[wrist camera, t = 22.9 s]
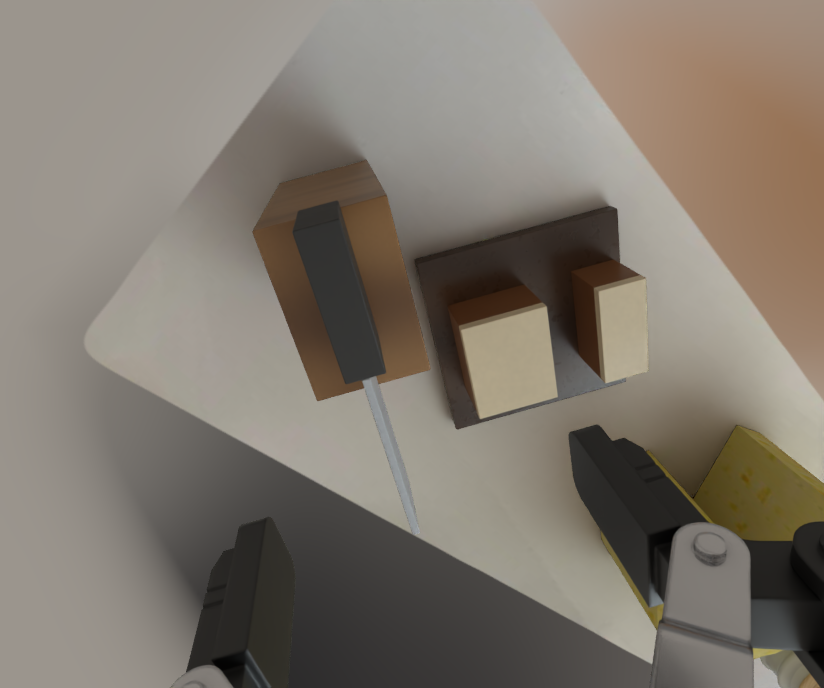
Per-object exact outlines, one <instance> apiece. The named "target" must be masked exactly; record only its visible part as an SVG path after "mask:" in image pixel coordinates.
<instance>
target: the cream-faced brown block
mask: <svg viewBox="0 0 824 688" xmlns="http://www.w3.org/2000/svg"><path fill="white" fill-rule="evenodd" d="M447 307H448V311H449V316H450V320H451V325H452V329H453V334H454V338H455V343H456V347H457V352H458V356H459V361H460V365H461V370H462V374H463V379H464V383H465V388H466V390H467V392H468V395H469V397H470V399H471V401H472V403H473V405H474V408H475V410H476V412H477V414H478V416H479V418H480V419H482V418H486V417H489V416H493V415H497V414H500V413H504V412H507V411H511V410H514V409H518V408H521V407H525V406H528V405H532V404H535V403H539V402H542V401H546V400H550V399H553V398H557V397H558V394H557V386H556V378H555V369H554V361H553V353H552V345H551V337H550V329H549V321H548V313H547V306H546V305H545V304H544V303H543V302H542V301H541V300H540V299H539V298H538V297H537V296H536V295H535V294H534V293H533V292H532V291H531V290H529V289H528V288H527V287H526V286H525V285H520V286H517V287H513V288H509V289H506V290H502V291H499V292H495V293H491V294H488V295H484V296H481V297H477V298H473V299H470V300H466V301H463V302H459V303H455V304H452V305H448V306H447Z"/></svg>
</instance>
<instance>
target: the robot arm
mask: <svg viewBox="0 0 824 688" xmlns="http://www.w3.org/2000/svg"><path fill="white" fill-rule="evenodd" d="M569 445H570V454H571V462H572V471H573V478H574V482H575V485H576V488H577V491H578V493H579V495H580V497H581V499H582V501H583V502H584V504H585V506H586V507H587V509H588V510H589V512H590V514H591V515H592V517H593V518H594V520H595V522H596V523H597V525H598V526H599V528H600V530H601V531H602V533H603V535H604V536H605V538H606V539H607V541H608V543H609V544H610V546H611V547H612V549H613V551H614V552H615V554H616V555H617V557H618V559H619V560H620V562H621V563H622V565H623V567H624V568H625V570H626V571H627V573H628V575H629V576H630V578H631V580H632V581H633V583H634V584H635V586H636V588H637V589H638V591H639V592H640V594H641V596H642V597H643V599H644V600H645V602H646V604H647V605H648V607H649V608H651V607H654V606H657V605H661V604H664V606H663V614H662V619H661V620H659V623H658V629H657V635H656V642H655V649H654V656H653V664H652V672H651V678H650V686H649V688H754V659H753V648H758V649H777V650H792V651H793V652H794V653H795V654H796V656H797V657H798V658H799V660H800V661H801V662H802V664H803V665H804V666H805V668H806V669H807V670H808V672H809V673H810V674H811V676H812V677H813V678H814V680H815V681H816V682H817V683H818V685H819V686H820V687H821V688H824V521H819V522H810V523H807V524H804V525H802V526H800V527H799V528H798V529H797V530H796V531H795V533H794V536H793V541H754V540H746V539H741V538H740V537H739V536H738V535H737V534H735V533H734V532H732V531H731V530H729V529H727V528H725V527H722V526H720V525H717V524H713V523H709V522H708V521H707V520H706V519H705V518H704V517H703V516H702V514H701V513H700V512H699V511H698V510H697V509H696V508H695V507H694V505H693V504H692V503H691V502H690V501H689V500H688V499H687V498H686V496H685V495H684V494H683V493H682V492H681V491H680V490H679V489H678V487H677V486H676V485H675V484H674V483H673V482H672V481H671V479H670V478H669V477H666V475H665V473H664V472H663V470H662V469H661V468H660V467H659V466H658V465H656V464H655V461H654V460H653V459H652V458H651V457H650V456H649V455H648V454H647V452H646V451H645V450H644V449H643V448H642V447H640V446H638V445H636V444H634V443H633V442H631V441H629V440H627V439H625V438H622V439H618V440H615V441H612V440H611V439H610V438H609V436H608V435H607V434H606V433H605V432H604V430H603V429H602V428H601V427H600V426H599V425H593V426H590V427H586V428H583V429H579V430H576V431H572V432H570V433H569ZM294 595H295V569H294V564H293V560H292V557H291V555H290V553H289V551H288V549H287V547H286V545H285V543H284V541H283V539H282V537H281V535H280V533H279V531H278V529H277V527H276V524H275V522H274V521H273V519H272V518H271V517H267V518H264V519H260V520H256V521H253V522H249V523H246V524H242V525H241V526H240V527H239V530H238V534H237V539H236V544H235V548H233V549H230V550H226V551H224V552H223V553H222V555H221V557H220V558H219V560H218V561H217V563H216V564H215V566H214V567H213V569H212V571H211V575H210V579H209V583H208V587H207V593H206V595H205V599H204V603H203V609H202V611H201V615H200V619H199V623H198V628H197V631H196V635H195V639H194V643H193V648H192V651H191V655H190V659H189V663H188V667H187V671H186V673H185V674H184V675H182V676H181V677H180V678H179V679H177V680H176V681H175V683H173V685H172V686H171V687H170V688H288V679H289V666H290V652H291V651H290V650H291V637H292V623H293V609H294Z"/></svg>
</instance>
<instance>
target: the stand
mask: <svg viewBox="0 0 824 688" xmlns="http://www.w3.org/2000/svg"><path fill="white" fill-rule="evenodd" d="M336 200H338V201H339V204H340V208H341V211H342V214H343V218H344V221H345V225H346V228H347V231H348V235H349V238H350V241H351V245H352V248H353V251H354V255H355V258H356V261H357V265H358V268H359V271H360V275H361V278H362V281H363V285H364V288H365V291H366V295H367V298H368V301H369V305H370V308H371V311H372V315H373V318H374V322H375V325H376V328H377V332H378V335H379V339H380V344H381V349H382V354H383V359H384V364H385V369H386V373H385V374H382V375H378V376H376V378H377V381H378V384H381V383H384V382H388V381H391V380H395V379H399V378H402V377H406V376H409V375H413V374H416V373H420V372H424V371H427V370H430V369H431V368H430V364H429V360H428V356H427V352H426V348H425V344H424V340H423V336H422V332H421V328H420V324H419V321H418V317H417V313H416V309H415V305H414V301H413V297H412V293H411V289H410V285H409V281H408V277H407V273H406V269H405V265H404V261H403V257H402V253H401V249H400V245H399V241H398V237H397V234H396V230H395V226H394V222H393V218H392V214H391V210H390V206H389V202H388V198H387V195H386V193H385V191H384V190H383V188H382V186H381V184H380V183H379V181H378V179H377V177H376V176H375V174H374V172H373V170H372V168H371V167H370V165H369V163H368V161H367V160H364V161H361V162H357V163H353V164H349V165H346V166H342V167H338V168H335V169H331V170H327V171H323V172H320V173H316V174H312V175H308V176H305V177H301V178H297V179H294V180H290V181H286V182H282V183H280V184H279V185H278V187H277V189H276V191H275V192H274V194H273V196H272V198H271V199H270V201H269V203H268V205H267V206H266V208H265V210H264V212H263V213H262V215H261V217H260V219H259V221H258V222H257V224H256V226H255V228H254V229H253V231H252V233H253V235H254V238H255V240H256V243H257V246H258V248H259V251H260V253H261V256H262V259H263V261H264V264H265V266H266V269H267V272H268V274H269V277H270V279H271V282H272V285H273V287H274V290H275V292H276V295H277V298H278V300H279V303H280V305H281V308H282V311H283V313H284V316H285V318H286V321H287V324H288V326H289V329H290V331H291V334H292V337H293V339H294V342H295V344H296V347H297V350H298V352H299V355H300V358H301V360H302V363H303V365H304V368H305V371H306V373H307V376H308V378H309V381H310V384H311V386H312V389H313V391H314V394H315V397H316V399H317V401H320V400H324V399H327V398H331V397H334V396H338V395H341V394H345V393H349V392H352V391H356V390H359V389H363V388H364V386H363V383H362V380H361V381H357V382H353V383H350V384H345V382H344V379H343V376H342V373H341V371H340V368H339V365H338V362H337V359H336V356H335V353H334V351H333V348H332V345H331V342H330V339H329V336H328V333H327V331H326V328H325V325H324V322H323V319H322V316H321V313H320V311H319V308H318V305H317V302H316V299H315V296H314V293H313V291H312V288H311V285H310V282H309V279H308V276H307V273H306V271H305V268H304V265H303V262H302V259H301V256H300V253H299V251H298V248H297V245H296V242H295V239H294V236H293V233H292V231H293V227H294V224H295V220H296V216H297V213H298V211H299V210H303V209H307V208H310V207H314V206H318V205H321V204H325V203H329V202H332V201H336Z"/></svg>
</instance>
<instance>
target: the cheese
mask: <svg viewBox="0 0 824 688" xmlns="http://www.w3.org/2000/svg"><path fill="white" fill-rule="evenodd" d="M646 452H647V454H648V455H649V456H650V457H651V458H652V459H653V460H654V461H655V464H656V465H658V466H659V467H660V468H661V469H662V470H663V472H664V473H665V475H666V477H669V478H670V479H671V481H672V482H673V483H674V484H675V485H676V486H677V487H678V489H679V490H680V491H681V492H682V493H683V494H684V495H685V496H686V498H687V499H688V500H689V501H690V502H691V503H692V504H693V505H694V507H695V508H696V509H697V510H698V511H699V512H700V513H701V514H702V516H703V517H704V518H705V519H706V520H707V521H708V522H709V523H713V524H717V525H720V526H722V527H725V528H727V529H729V530H731V531H732V532H734V533H735V534H737V535H738V536H739V537H740V538H741V539H746V540H754V541H793V536H794V533H795V531H796V530H797V529H798V528H799V527H800V526H802V525H804V524H807V523H810V522H819V521H824V483H822V482H821V481H820V480H819V479H817V478H816V477H815V476H814V475H812V474H811V473H810V472H809V471H807V470H806V469H805V468H803V467H802V466H801V465H800V464H798V463H797V462H796V461H795V460H793V459H792V458H791V457H790V456H788V455H787V454H786V453H784V452H783V451H782V450H781V449H779V448H778V447H777V446H776V445H774V444H773V443H772V442H770V441H769V440H768V439H767V438H765V437H764V436H763V435H762V434H760V433H758V432H755V431H752V430H749V429H747V428H744V427H741V426H738V425H737V426H736V427H735V429H734V431H733V433H732V434H731V436H730V438H729V439H728V441H727V443H726V444H725V446H724V448H723V449H722V451H721V453H720V455H719V456H718V458H717V460H716V461H715V463H714V465H713V466H712V468H711V470H710V471H709V473H708V475H707V477H706V478H705V480H704V482H703V483H702V485H701V487H700V488H699V490H698V492H697V493H696V495H695V497H694V499H692V498H691V497H690V496H689V495H688V494H687V493H686V491H685V490H684V489H683V488H682V487H681V486H680V485H679V484H678V483H677V481H676V480H675V479H674V478H673V477H672V476H671V475H670V474H669V473H668V471H667V470H666V469H665V468H664V467H663V466H662V465H661V464H660V462H659V461H658V460H657V459H656V458H655V457H654V456H653V455H652V454H651V452H650V451H649V450H648V451H646ZM601 539H602V541H603V543H604V544H605V546H606V548H607V549H608V551H609V553H610V554H611V556H612V558H613V559H614V561H615V563H616V564H617V566H618V567H619V569H620V571H621V572H622V574H623V576H624V577H625V579H626V581H627V582H628V584H629V586H630V587H631V589H632V590H633V592H634V594H635V595H636V597H637V599H638V600H639V602H640V604H641V605H642V607H643V608H644V610H645V612H646V613H647V615H648V617H649V618H650V620H651V622H652V623H653V625H654V626H655V628H656V630H657V629H658V623H659V620H661V619H662V614H663V606H664V604H661V605H657V606H654V607H651V608H649V607H648V605H647V604H646V602H645V600H644V599H643V597H642V596H641V594H640V592H639V591H638V589H637V588H636V586H635V584H634V583H633V581H632V580H631V578H630V576H629V575H628V573H627V571H626V570H625V568H624V567H623V565H622V563H621V562H620V560H619V559H618V557H617V555H616V554H615V552H614V551H613V549H612V547H611V546H610V544H609V543H608V541H607V539H606V538H605V536H604V535H603V533H602V531H601ZM780 651H782V650H777V649H758V648H753V659H756V658H759V657H763V656H766V655H771V654H776V653H778V652H780Z"/></svg>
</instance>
